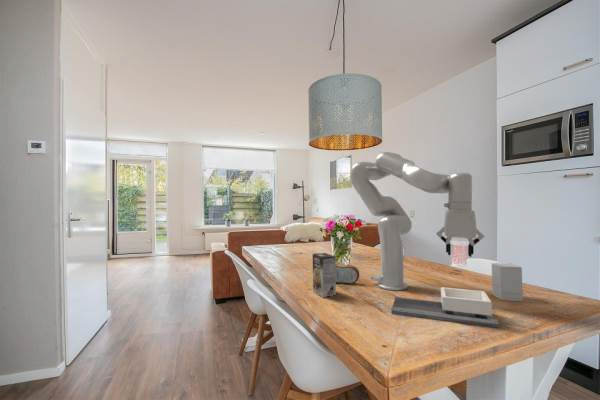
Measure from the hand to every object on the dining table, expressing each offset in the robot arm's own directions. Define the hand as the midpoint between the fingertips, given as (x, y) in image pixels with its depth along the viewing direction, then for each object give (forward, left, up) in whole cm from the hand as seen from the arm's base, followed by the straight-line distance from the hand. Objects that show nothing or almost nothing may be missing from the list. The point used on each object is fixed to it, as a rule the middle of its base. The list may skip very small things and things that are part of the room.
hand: (459, 254), depth 104 cm
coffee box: (-50, -8, -18) cm, 54 cm away
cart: (0, -14, -16) cm, 22 cm away
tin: (-47, +10, -18) cm, 51 cm away
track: (-7, -14, -17) cm, 24 cm away
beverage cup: (0, 0, -4) cm, 4 cm away
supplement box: (+17, +12, -18) cm, 27 cm away
